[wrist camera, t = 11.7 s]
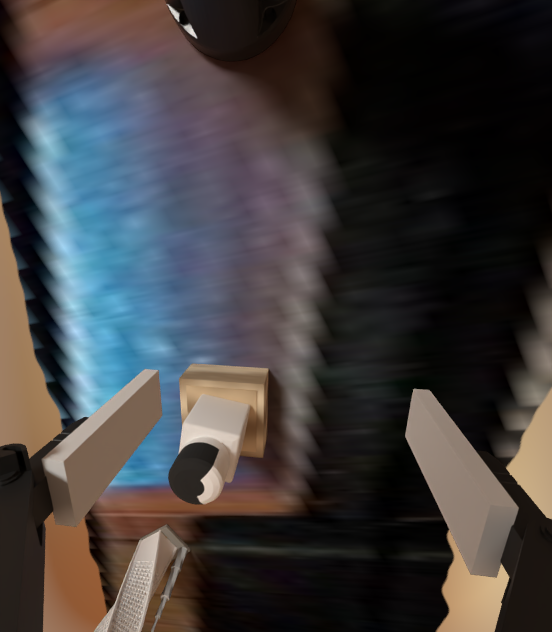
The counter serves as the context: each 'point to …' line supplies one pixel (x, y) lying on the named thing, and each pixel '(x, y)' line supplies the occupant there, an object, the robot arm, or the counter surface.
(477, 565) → the robot arm
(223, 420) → the medicine bottle
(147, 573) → the skyscraper
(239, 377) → the base block
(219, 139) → the counter surface
